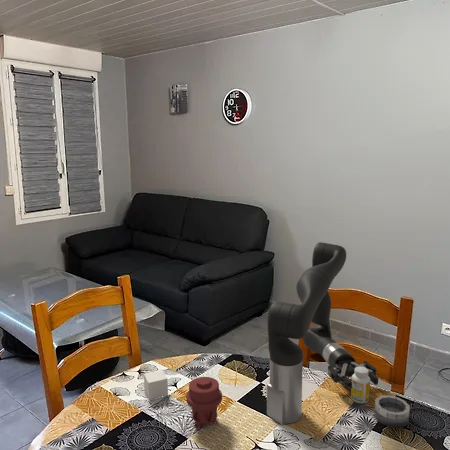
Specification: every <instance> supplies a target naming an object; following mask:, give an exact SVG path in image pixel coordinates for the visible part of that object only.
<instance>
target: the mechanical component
mask: <svg viewBox="0 0 450 450" xmlns="http://www.w3.org/2000/svg"><path fill="white" fill-rule="evenodd" d="M185 397H186V399H185V400H186V404H187V405H188V406H189V407H191V416H192V420H193V421H195V423H196V425H195V426H196V427H197V428H202V427H204V426H205V425H209V424H210V423H211V424H216V423H217V417H218V412H217V411H218V406H219V405H220V404H221V403H222V400H223V392H222V391H221V389H220V383H219V381H218V380H217V379H216V378H214V377H211V376H199V377H196V378H194V379H191V381H190V382H189V384H188V391H187V392H186V396H185Z"/></svg>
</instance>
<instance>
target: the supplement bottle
mask: <svg viewBox="0 0 450 450" xmlns="http://www.w3.org/2000/svg"><path fill="white" fill-rule="evenodd" d="M351 382H352V388H351V389H350V399H351V400H352V401H354V402H355V403H357V404H366V403H368V402H369V400H370V391H371V390H370V389H371V381H370V377H369V376H368V369H367V368H365V367H356V368H355V371H354V374H353V375H352V377H351Z"/></svg>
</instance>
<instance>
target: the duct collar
mask: <svg viewBox="0 0 450 450" xmlns="http://www.w3.org/2000/svg"><path fill="white" fill-rule="evenodd" d="M374 401H375V402H374V418H375V419H376V420H377V421H378V423H380V424H382V425H384V426H386V427H390V428H395V429H399V428H404V427H406V426H408V425H409V422H410V409H411V407H410V405H409V403H407V401H406V400H404V399H402V398H400V397H397V396H393V395H389V394H388V395H387V394H386V395H380V396H377V397H376V398H375V399H374Z"/></svg>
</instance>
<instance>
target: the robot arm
mask: <svg viewBox="0 0 450 450" xmlns="http://www.w3.org/2000/svg"><path fill="white" fill-rule="evenodd" d="M346 260H347V251H346V248H345V247H343V246H341V245H340V244H339V245H338V244H332V243H328V242H321V241H320V242H317V243H316V244H315V246H314V248H313V252H312V260H311V263H312V264H311V266H312V267H309V268H307V269H306V270H305V271H304V272H303V273H302V274H301V276H300V277H299V279H298V281H297V283H296V288H295V289H296V293H297V296H298V299H299V301H300V302H301V304H295V303H289V302H285V301H283V302H282V301H274V302H273V303H272V304H271V305H270V307H269V309H268V313H267V322H266V324H267V335H268V337H267V340H268V352H269V383H267V385H266V415H267V416H268V417H270V418H271V419H272V420H273V421H276V423H278V424H280V425H285V424H294V423H296V422H299V421H300V420H301V418H302V415H303V413H302V412H303V409H302V408H303V366H304V365H303V361H304V353H303V349H302V347H300V345H298V344H296V343H295V342H294V341H293V339H294V340H301V339H302V342H303V344H304V345H305V346H306V347H307V349H309V350H310V351H312V352H314V353H316V354H318V355H320V356H321V357H322V358H323V359H324V360H325V362H326V364H328V366H327V374H328V376H329V377H330V379H331V380H332V381H333V382H334V383H339V382H340V383H342V384H343V385H344V387H346V388H348V389H350V390H351V388H352V380H351V379H350V378H352V375H353V374H354V371H355V368H356V367H365V368H367V369H368V376H369V377H370V383H372V384H374V385H375V386H378V384H379V377H378V376H377V368H376V367H375V366H373V365H372V364H371V363H370V362H368V361H366V360H364V361H363V362H362V363H359V362H357V361H356V360H355V357H354V356H353V355H352V354H351V353H350V352H349V351H347V350H346V349H345V348H344V347H343V346H342V345H340V344H339V343H338V342H336V341H335V340H334V339H333V338H332V331H331V323H330V318H331V311H332V300H331V295H330V293H329V289H330V287H331V284H332V283H333V281H334V279H335V277H336V276H337V275H338V274H339V273H340V272H341V270H342V269H343V268H344V265H345V263H346ZM311 323H313V324H314V325H318V326H320V327H310V326H311Z"/></svg>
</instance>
